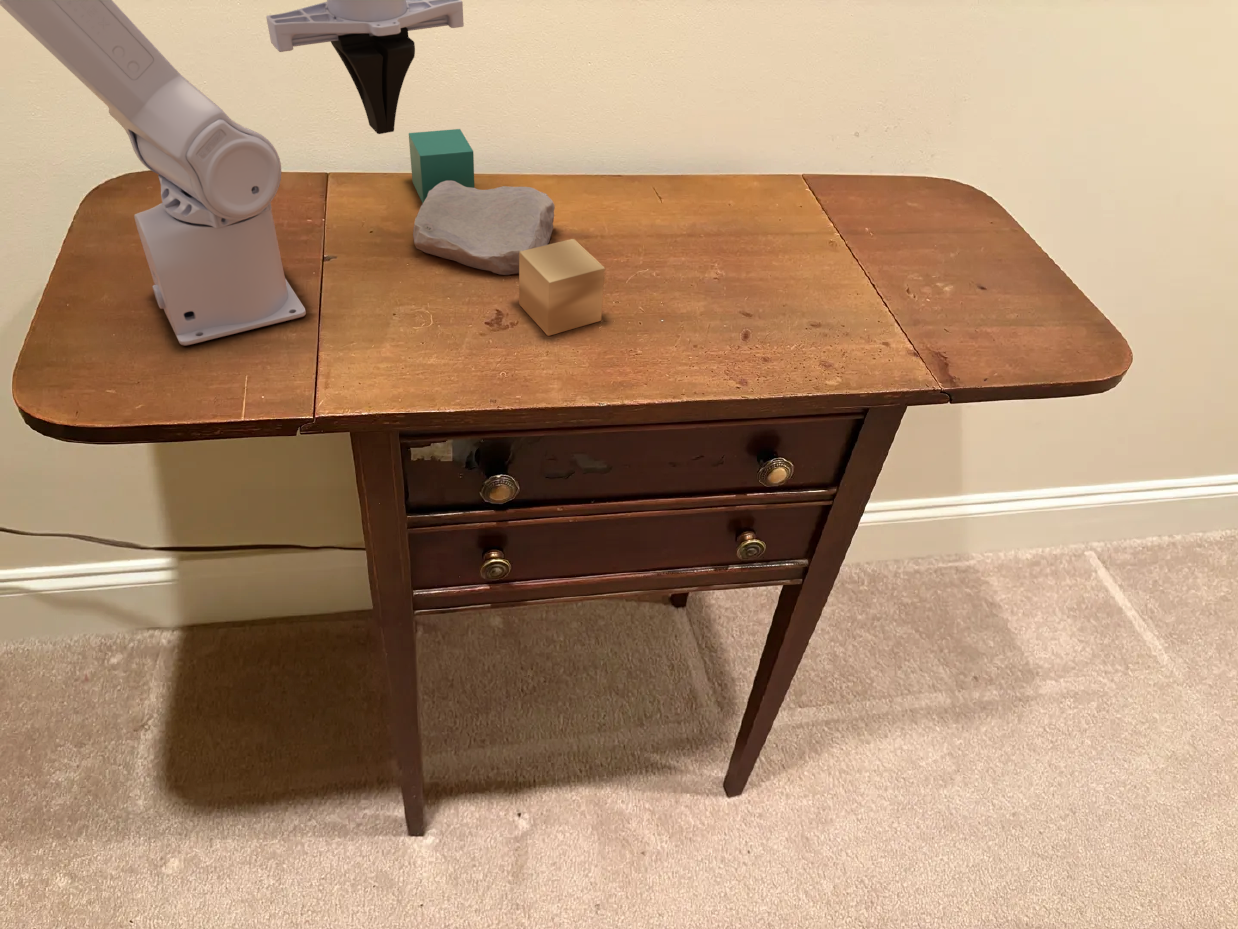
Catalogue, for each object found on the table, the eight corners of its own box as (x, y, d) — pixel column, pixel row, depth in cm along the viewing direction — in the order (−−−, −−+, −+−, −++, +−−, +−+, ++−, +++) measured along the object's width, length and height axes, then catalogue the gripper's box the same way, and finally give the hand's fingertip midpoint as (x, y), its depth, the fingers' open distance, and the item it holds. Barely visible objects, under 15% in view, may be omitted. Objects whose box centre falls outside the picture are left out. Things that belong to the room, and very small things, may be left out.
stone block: (542, 296, 80) (558, 221, 86) (539, 253, 76) (556, 178, 82) (408, 284, 81) (433, 210, 87) (398, 241, 77) (426, 167, 83)
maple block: (547, 336, 73) (549, 282, 70) (518, 304, 76) (519, 251, 73) (601, 320, 75) (605, 267, 72) (571, 290, 78) (573, 237, 75)
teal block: (423, 206, 87) (419, 155, 84) (412, 182, 90) (408, 132, 87) (475, 200, 89) (473, 150, 85) (462, 177, 92) (460, 128, 88)
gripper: (275, -32, 60) (310, 165, 69) (477, -52, 66) (484, 131, 75) (243, -62, 64) (280, 128, 73) (437, -78, 70) (448, 99, 80)
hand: (381, 128), depth 75 cm, fingers closed
